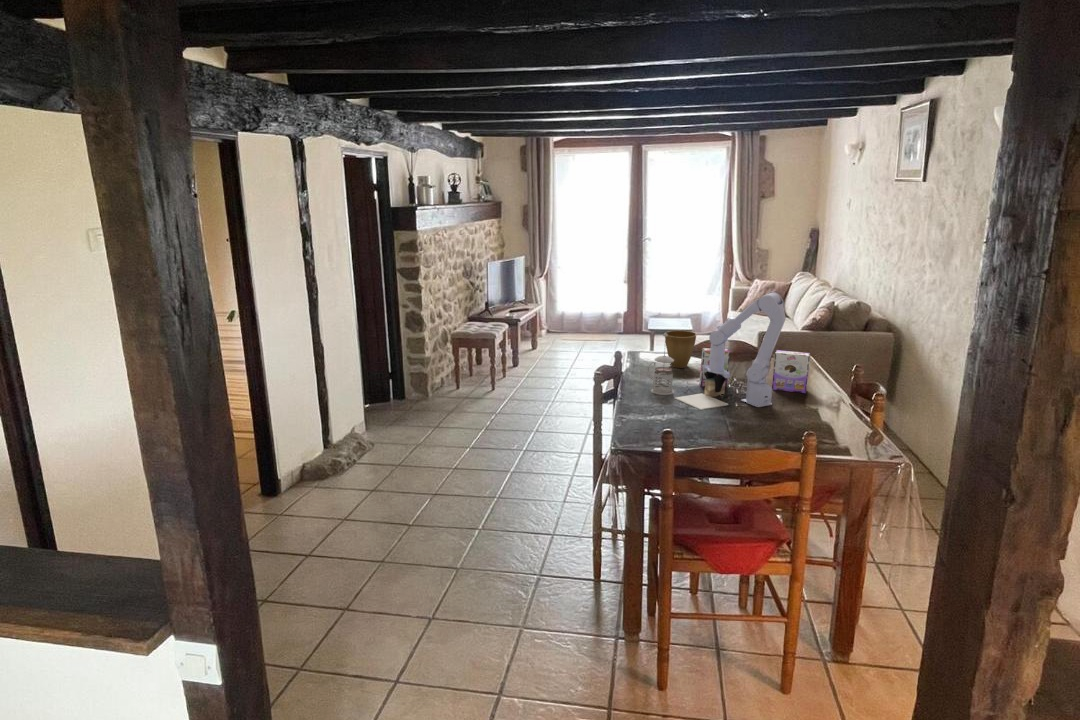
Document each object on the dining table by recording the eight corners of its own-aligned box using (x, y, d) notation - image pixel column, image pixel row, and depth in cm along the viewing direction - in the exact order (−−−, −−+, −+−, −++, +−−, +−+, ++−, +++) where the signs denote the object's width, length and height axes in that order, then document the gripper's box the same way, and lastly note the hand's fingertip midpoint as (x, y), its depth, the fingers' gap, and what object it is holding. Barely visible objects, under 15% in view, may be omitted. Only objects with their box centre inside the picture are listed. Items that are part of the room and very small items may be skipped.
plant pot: (676, 360, 333) (678, 329, 329) (700, 366, 322) (703, 334, 318) (656, 365, 324) (658, 332, 320) (680, 371, 313) (683, 338, 309)
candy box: (806, 390, 286) (811, 352, 282) (805, 393, 281) (810, 355, 277) (772, 386, 291) (776, 349, 287) (771, 389, 286) (774, 352, 282)
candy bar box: (700, 387, 288) (703, 350, 284) (699, 384, 293) (701, 347, 289) (727, 388, 287) (730, 351, 283) (725, 385, 292) (728, 348, 288)
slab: (724, 394, 279) (725, 378, 277) (709, 397, 275) (710, 380, 273) (719, 392, 281) (720, 376, 279) (704, 395, 278) (705, 379, 276)
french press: (672, 395, 276) (676, 336, 270) (644, 392, 280) (647, 334, 274) (675, 389, 285) (679, 331, 279) (648, 386, 289) (651, 329, 283)
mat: (728, 405, 265) (728, 404, 265) (700, 409, 259) (700, 409, 259) (701, 394, 279) (701, 393, 279) (674, 398, 273) (674, 397, 273)
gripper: (697, 355, 279) (695, 387, 282) (721, 363, 266) (719, 396, 270) (710, 354, 282) (708, 385, 285) (735, 361, 269) (732, 394, 273)
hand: (714, 390), depth 278 cm, fingers open, 4 cm apart
